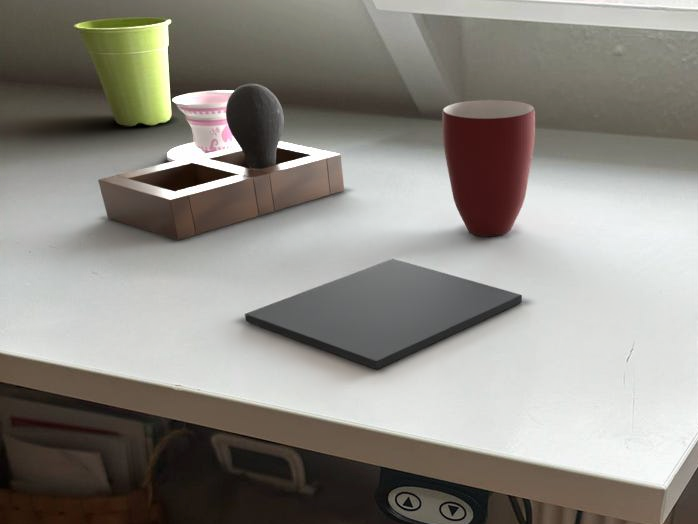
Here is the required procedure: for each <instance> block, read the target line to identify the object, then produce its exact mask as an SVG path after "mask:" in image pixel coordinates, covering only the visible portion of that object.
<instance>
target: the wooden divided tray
mask: <svg viewBox="0 0 698 524" xmlns="http://www.w3.org/2000/svg"><path fill="white" fill-rule="evenodd" d="M342 163H343V162H342V154H341V153H337V152H332V151H329V150H322V149H319V148H314V147H308V146H305V145H304V146H303V145H299V144H294V143H290V142H285V141H281V140H280V141H279V144H278V147H277V151H276V163H275V165H274V166H270V167H267V168H263V169H259V170H252V169H250V167H249V165H248V163H247V160H246V157H245V154H244V152H243V151H242V149H241V147H240V146H236V147H232V148H227V149H223V150H219V151H215V152H211V153H207V154H202V155H198V156H194V157H190V158H186V159H182V160H177V161H173V162H171V161H168V162H166V163H160V164H157V165H152V166H149V167H144V168H141V169H136V170H131V171H128V172H127V171H126V172H123V173H119V174H116V175H111V176H107V177H103V178H99V179H98V185H99V189H100V191H101V196H102V200H103V205H104V208H105V213H106V217H107V218H108V219H109V220H113V221H117V222H119V223H122V224H126V225H130V226H132V227H136V228H138V229H141V230H145V231H148V232H151V233H155V234H157V235H161V236H164V237H166V238H169V239H173V240H177V241H181V240H184V239H187V238H190V237H194V236H197V235H200V234H204V233H208V232H210V231H214V230H217V229H220V228H224V227H228V226H230V225H234V224H237V223H241V222H244V221H248V220H251V219H254V218H258V217H260V216H263V215H267V214H271V213H274V212H278V211H280V210H284V209H287V208H291V207H294V206H298V205H301V204H304V203H308V202H310V201H314V200H317V199H321V198H323V197H328V196H331V195H334V194H337V193H340V192H341V193H342V192H345V184H344V176H343V175H344V174H343V173H344V172H343V165H342Z"/></svg>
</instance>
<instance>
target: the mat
mask: <svg viewBox="0 0 698 524" xmlns="http://www.w3.org/2000/svg"><path fill="white" fill-rule="evenodd" d="M521 303H523V295H522V294H520V293H516V292H513V291H510V290H506V289H502V288H498V287H496V286H492V285H487V284H484V283H481V282H477V281H473V280H472V279H471V280H470V279H467V278H463V277H459V276H456V275H452V274H448V273H446V272H442V271H438V270H435V269H431V268H427V267H425V266H421V265H417V264H413V263H410V262H407V261H402V260H399V259H396V258H391V259H388V260H385V261H382V262H380V263H377V264H374V265H372V266H369V267H366V268H364V269H361V270H358V271H356V272H354V273H350V274H347V275H345V276H343V277H340V278H337V279H334V280H331V281H329V282H326V283H324V284H321V285H318V286H315V287H313V288H311V289H308V290H305V291H302V292H300V293H297V294H295V295H292V296H289V297H286V298H283V299H281V300H278V301H275V302H273V303H270V304H267V305H265V306H262V307H259V308H257V309H254V310H252V311H249V312H246V313H244V317H245V318H244V319H245V322H247V323H248V324H249V323H250V324H252V325H255V326H258V327H260V328H263V329H266V330H269V331H271V332H274V333H276V334H280V335H282V336H285V337H288V338H291V339H293V340H296V341H298V342H301V343H304V344H307V345H309V346H312V347H315V348H317V349H320V350H323V351H325V352H328V353H331V354H334V355H337V356H340V357H342V358H345V359H347V360H350V361H353V362H356V363H359V364H361V365H364V366H367V367H369V368H371V369H374V370H379V369H381V368H383V367H386V366H388V365H389V364H393V363H394V362H396V361H398V360H401V359H403V358H405V357H407V356H409V355H411V354H413V353H415V352H418V351H420V350H422V349H425V348H426V347H429V346H431V345H433V344H435V343H437V342H439V341H441V340H444V339H446V338H448V337H450V336H452V335H454V334H456V333H459V332H460V331H464V330H465V329H467V328H469V327H472V326H475V324H478V323H481V322H483V321H484V320H485V321H486V319H489V318H491V317H494V316H495V315H497V314H499V313H502V312H504V311H506V310H508V309H510V308H513V307H515V306H517V305H519V304H521Z"/></svg>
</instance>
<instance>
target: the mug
mask: <svg viewBox="0 0 698 524" xmlns="http://www.w3.org/2000/svg"><path fill="white" fill-rule="evenodd" d="M441 115H442V118H441V119H442V120H441V121H442V122H441V123H442V143H443V150H444V156H445V161H446V166H447V167H446V168H447V172H448V178H449V181H450V188H451V193H452V198H453V202H454V205H455V207H456V210H457V211H458V214H459V216H460V217H461V220H462V221H463V223H464V225H465V228H466V229H467V231H468V232H469V233H470V234H472V235H476V236H481V237H495V236H501V235H505V234H508V233H509V232H510V231H511V230H512V228H513V226H514V225H515V223H516V220H517V218H518V216H519V214H520V212H521V210H522V207H523V206H524V203H525V199H526V194H527V188H528V182H529V177H530V170H531V165H532V159H533V154H534V148H535V137H536V109H535V107H534V106H533V105H532V104H529V103H527V102H522V101H516V100H507V99H476V100H465V101H460V102H454V103H451V104H449V105H446V106H444V107H443V108H442V112H441Z"/></svg>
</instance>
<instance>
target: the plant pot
mask: <svg viewBox="0 0 698 524" xmlns="http://www.w3.org/2000/svg"><path fill="white" fill-rule="evenodd" d="M171 23H172V20H171V19H170V18H165V17H152V16H151V17H147V16H145V17H144V16H142V17H141V16H140V17H135V16H134V17H115V18H113V17H112V18H102V19H94V20H93V19H92V20H87V21H82V22H77V23H75V24H74V25H73V28H74V29H75V30H77V31H79V34H80V37H81V39H82V41H83V45H84V47H85V49H86V50H87V51H88V52H89V55H90V58H91V61H92V63H93V65H94V68H95V71H96V74H97V76H98V79H99V81H100V84H101V87H102V89H103V92H104V94H105V98H106V100H107V102H108V105H109V107H110V110H111V112H112V116H113V117H114V121H115V122H116V123H117V125H118V124H119V125H120V126H126V127H133V126H134V127H135V126H136V125H138V124H143V125H145V126H156V125H158V124H165V123H167V122H168V121H170V120H171V118H172V103H171V87H170V72H169V71H170V70H169V69H170V68H169V53H168V52H169V51H168V47H169V45H170V44H169V25H170V24H171Z"/></svg>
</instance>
